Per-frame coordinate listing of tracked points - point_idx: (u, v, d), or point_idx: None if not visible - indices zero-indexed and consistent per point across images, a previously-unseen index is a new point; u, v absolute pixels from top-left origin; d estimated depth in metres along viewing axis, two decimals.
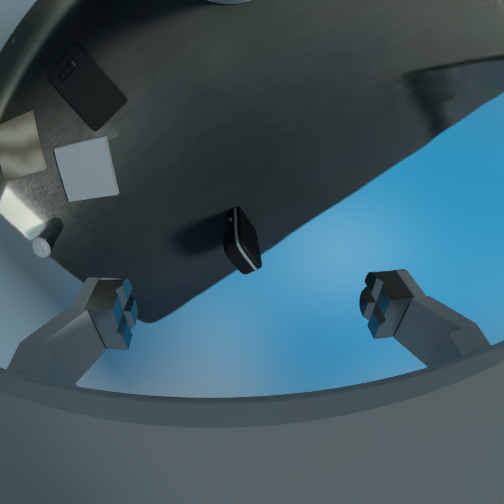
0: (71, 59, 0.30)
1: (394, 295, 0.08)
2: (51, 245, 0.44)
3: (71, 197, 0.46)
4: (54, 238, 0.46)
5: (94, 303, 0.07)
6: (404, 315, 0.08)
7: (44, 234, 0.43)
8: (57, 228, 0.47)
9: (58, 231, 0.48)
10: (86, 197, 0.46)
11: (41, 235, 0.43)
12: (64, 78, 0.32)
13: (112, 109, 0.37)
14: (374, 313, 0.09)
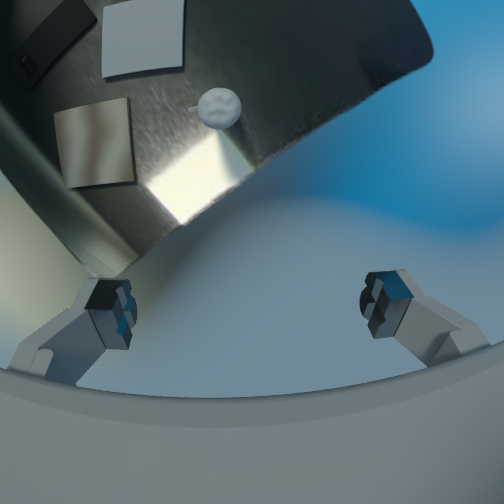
0: (20, 62, 0.24)
1: (394, 295, 0.08)
2: None
3: (175, 59, 0.29)
4: None
5: (94, 303, 0.07)
6: (404, 315, 0.08)
7: None
8: None
9: None
10: (179, 35, 0.27)
11: None
12: (33, 66, 0.25)
13: (78, 4, 0.21)
14: (374, 313, 0.09)
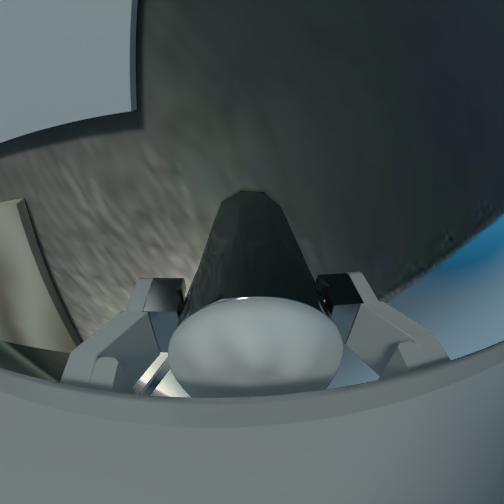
0: None
1: (340, 300, 0.08)
2: (277, 280, 0.07)
3: (111, 92, 0.09)
4: (261, 242, 0.08)
5: (154, 305, 0.07)
6: (354, 321, 0.08)
7: (187, 297, 0.08)
8: (238, 212, 0.11)
9: (257, 213, 0.10)
10: (123, 16, 0.07)
11: None
12: None
13: None
14: None
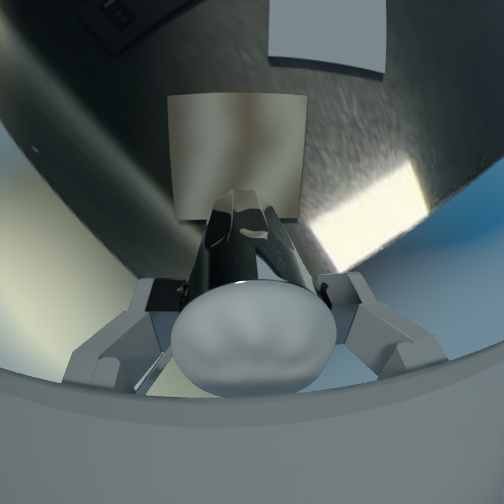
0: (100, 7, 0.15)
1: (338, 300, 0.08)
2: (272, 266, 0.07)
3: (377, 62, 0.20)
4: (255, 234, 0.09)
5: (155, 305, 0.07)
6: (353, 321, 0.08)
7: (187, 287, 0.08)
8: (232, 209, 0.11)
9: (249, 209, 0.11)
10: (383, 32, 0.18)
11: None
12: (129, 15, 0.16)
13: None
14: None
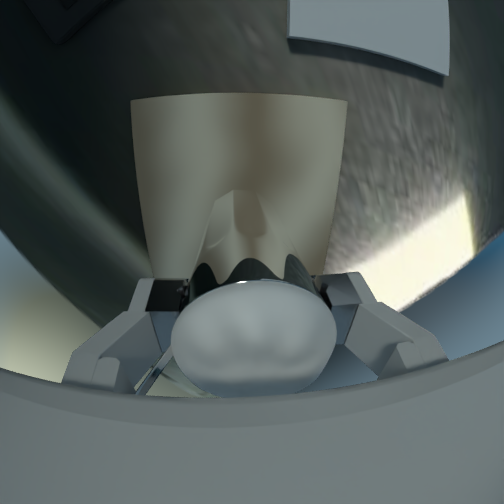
0: None
1: (338, 300, 0.08)
2: (272, 266, 0.07)
3: (440, 60, 0.12)
4: (256, 234, 0.09)
5: (155, 305, 0.07)
6: (352, 322, 0.08)
7: (187, 287, 0.08)
8: (232, 209, 0.11)
9: (250, 210, 0.11)
10: (445, 20, 0.10)
11: None
12: None
13: None
14: None
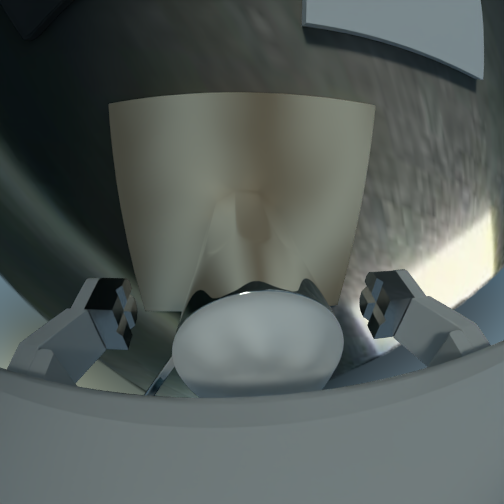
0: None
1: (394, 295, 0.08)
2: (277, 275, 0.07)
3: (475, 61, 0.09)
4: (259, 240, 0.09)
5: (94, 303, 0.07)
6: (404, 315, 0.08)
7: (189, 295, 0.08)
8: (234, 212, 0.11)
9: (252, 213, 0.11)
10: (479, 16, 0.07)
11: None
12: None
13: None
14: (374, 313, 0.09)
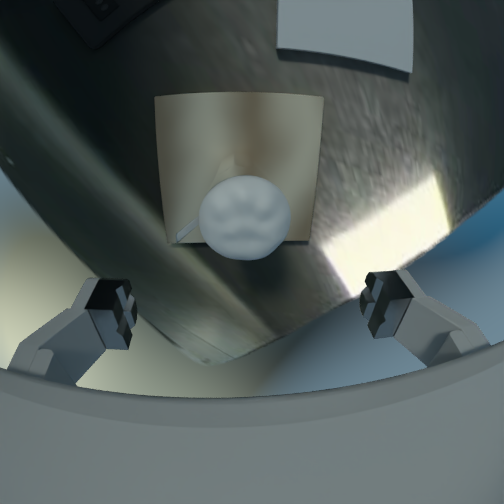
0: None
1: (394, 295, 0.08)
2: (253, 173, 0.14)
3: (404, 60, 0.16)
4: (246, 166, 0.16)
5: (94, 303, 0.07)
6: (404, 315, 0.08)
7: None
8: (233, 159, 0.18)
9: (244, 159, 0.18)
10: (410, 26, 0.14)
11: None
12: (111, 2, 0.13)
13: None
14: (374, 313, 0.09)
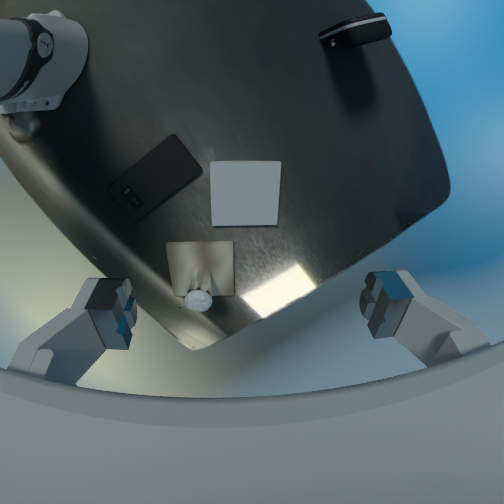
0: (122, 193, 0.44)
1: (394, 295, 0.08)
2: (200, 287, 0.46)
3: (272, 220, 0.49)
4: (199, 281, 0.48)
5: (94, 303, 0.07)
6: (404, 315, 0.08)
7: (187, 290, 0.47)
8: (197, 273, 0.50)
9: (200, 273, 0.50)
10: (276, 201, 0.47)
11: (187, 294, 0.47)
12: (140, 201, 0.45)
13: (180, 150, 0.41)
14: (374, 313, 0.09)
